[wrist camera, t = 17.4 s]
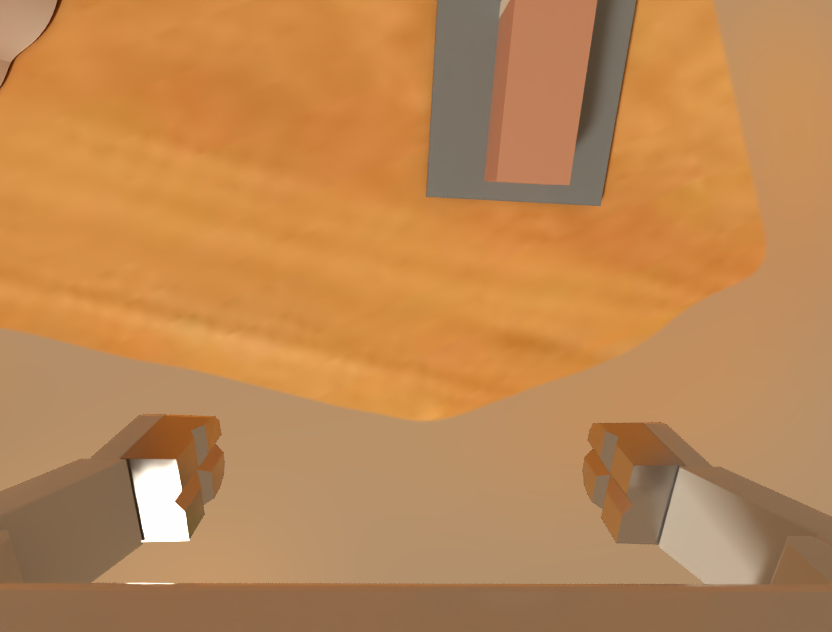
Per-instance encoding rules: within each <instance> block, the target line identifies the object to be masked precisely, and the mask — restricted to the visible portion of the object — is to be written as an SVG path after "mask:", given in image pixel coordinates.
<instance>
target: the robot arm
mask: <svg viewBox="0 0 832 632" xmlns="http://www.w3.org/2000/svg"><path fill="white" fill-rule="evenodd" d="M56 3H57V0H0V86H1V84H2V82H3V80H4V78H5V76H6V73H7V71H8V68H9V65H10V63H11V61H12V60H13V59H14V58H15V57H16V56H17V55H18V54H19V53H20V52H22V51H23V50H24V49H25V48H27V47H28V46H29V45H30V44H32V43H33V42H34V41H35V40H36V39H37V38H38V37H39V36H40V34H41V33H42V32H43V30H44V29H45V28H46V26H47V24H48V23H49V21H50V19H51V17H52V14H53V12H54V9H55V7H56ZM220 436H221V429H220V422H219V420H218V419H217V418H216V417H215V416H194V415H193V416H192V415H166V414H144V415H139V416H137V417H136V418H135V419H134V420H133V421H132V422H131V423H130V424H128V425H127V426H126V427H125V428H124V429H123V430H122V431H120V432H119V433H118V434H117V435H116V436H115V437H114V438H112V439H111V440H110V441H109V442H108V443H107V444H106V445H104V446H103V447H102V448H101V449H100V450H99V451H98V452H96V453H95V454H94V455H93V456H92V457H91V458H90V459H79V460H77V461H74V462H72V463H69V464H67V465H64V466H62V467H59V468H57V469H55V470H52V471H50V472H47V473H45V474H42V475H40V476H37V477H35V478H32V479H30V480H27V481H25V482H23V483H20V484H18V485H15V486H13V487H10V488H8V489H5V490H3V491H0V632H832V517H831V516H829V515H827V514H825V513H822V512H820V511H818V510H816V509H814V508H811V507H809V506H807V505H804V504H802V503H800V502H798V501H796V500H793V499H791V498H789V497H787V496H784V495H782V494H780V493H778V492H775V491H773V490H771V489H769V488H766V487H764V486H762V485H760V484H758V483H755V482H753V481H751V480H749V479H746V478H744V477H742V476H739V475H737V474H735V473H733V472H731V471H728V470H726V469H724V468H722V467H713V466H711V465H710V464H709V463H708V462H707V461H706V460H705V459H704V458H703V457H702V456H700V455H699V454H698V453H697V452H696V451H695V450H694V449H693V448H692V447H691V446H690V445H689V444H688V443H686V442H685V441H684V440H683V439H682V438H681V437H680V436H679V435H678V434H676V432H674V431H673V430H672V429H671V428H670V427H669V426H668V425H667V424H664V423H661V422H650V423H649V422H648V423H593V424H592V426H591V428H590V430H589V435H588V442H589V443H590V445H591V446H592V448H593V449H592V450H591V451H590V452H589V453H588V454H587V455H586V456H585V457H584V463H583V480H584V486H585V489H586V491H587V494H588V496H589V498H590V499H591V501H592V502H593V503H594V504H596V505H597V506H599V507H601V508H602V509H603V510H602V516H601V518H602V520H603V522H604V523H605V525H606V527H607V528H608V530H609V532H610V533H611V535H612V537H613V539H614V540H615V542H616V543H628V544H631V543H632V544H657V545H659V547H660V548H661V549H662V550H664V551H665V552H666V553H667V554H669V555H670V556H671V557H672V558H674V559H675V560H676V561H677V562H679V563H680V564H681V565H683V566H684V567H685V568H686V569H688V570H689V571H690V572H692V573H693V574H694V575H695V576H696V577H698V578H699V579H700V580H702V581H703V582H704V583H705V584H350V583H349V584H348V583H347V584H346V583H344V584H340V583H339V584H337V583H335V584H334V583H333V584H331V583H91V582H93V581H94V580H95V579H97V578H98V577H99V576H100V575H102V574H103V573H105V572H106V571H107V570H109V569H110V568H111V567H112V566H114V565H115V564H117V563H118V562H119V561H121V560H122V559H123V558H125V557H126V556H127V555H129V554H130V553H131V552H133V551H134V550H135V549H137V548H138V547H139V546H141V545H142V544H143V543H142V542H147V541H189V540H190V538H191V536H192V535H193V533H194V531H195V529H196V528H197V526H198V525H199V523H200V521H201V520H202V518H203V516H204V515H205V514H204V506H203V505H204V504H206V503H207V502H209V501H210V500H212V499H214V498H215V496H216V494H217V492H218V491H219V489H220V486H221V483H222V479H223V476H224V463H225V461H224V452H223V451H222V450H221V449H220V448H219V447H218V446H217V445H216V444H215V443H216V442H217V440H218V439H219V437H220Z"/></svg>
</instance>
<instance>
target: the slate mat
mask: <svg viewBox="0 0 832 632" xmlns="http://www.w3.org/2000/svg"><path fill="white" fill-rule="evenodd" d="M501 1H502V0H438V1H437V18H436V36H435V53H434V71H433V88H432V106H431V123H430V141H429V158H428V176H427V193H426V197H442V198H461V199H479V200H498V201H517V202H535V203H554V204H573V205H592V206H601V200H602V194H603V188H604V183H605V177H606V171H607V165H608V160H609V154H610V148H611V143H612V137H613V131H614V125H615V120H616V114H617V108H618V102H619V97H620V91H621V85H622V80H623V74H624V68H625V62H626V57H627V51H628V45H629V40H630V34H631V28H632V22H633V17H634V11H635V5H636V0H597V6H596V13H595V20H594V26H593V33H592V40H591V46H590V53H589V59H588V66H587V73H586V79H585V86H584V93H583V99H582V106H581V112H580V119H579V126H578V132H577V139H576V146H575V152H574V159H573V165H572V172H571V179H570V185H543V184H524V183H506V182H487V181H484V174H485V163H486V152H487V142H488V131H489V120H490V110H491V99H492V88H493V78H494V67H495V56H496V46H497V35H498V24H499V14H500V3H501Z"/></svg>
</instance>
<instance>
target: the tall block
mask: <svg viewBox="0 0 832 632" xmlns="http://www.w3.org/2000/svg"><path fill="white" fill-rule="evenodd" d="M596 6H597V0H502V1H501V3H500V14H499V24H498V35H497V46H496V56H495V67H494V78H493V88H492V99H491V110H490V120H489V131H488V142H487V152H486V163H485V174H484V181H487V182H506V183H524V184H543V185H570V179H571V172H572V165H573V159H574V152H575V146H576V139H577V132H578V126H579V119H580V112H581V106H582V99H583V93H584V86H585V79H586V73H587V66H588V59H589V53H590V46H591V40H592V33H593V26H594V20H595V13H596Z"/></svg>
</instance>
